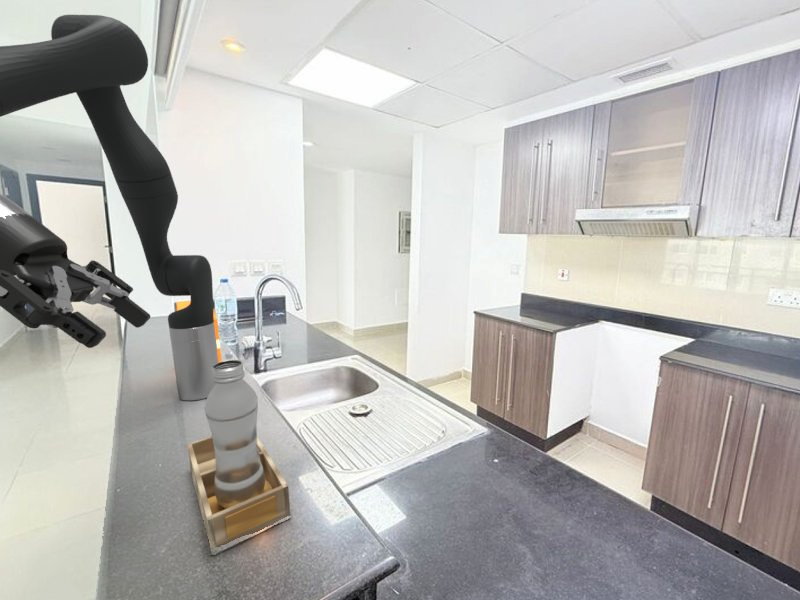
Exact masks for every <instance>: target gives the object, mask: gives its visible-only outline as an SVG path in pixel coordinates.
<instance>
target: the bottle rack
mask: <svg viewBox="0 0 800 600" xmlns="http://www.w3.org/2000/svg"><path fill="white" fill-rule="evenodd" d="M257 445H258V450H259V456H260V461H261V464H262V466H263V469H264V473H265V487H264V491H263V493H262V494H260V495H258V496H256V497H253V498H251V499H249V500H246V501H244V502H242V503H239V504H237V505H235V506H232V507H230V508H227V509H225V508H223V507H222V506H221V505H219V503H218V502H217V499H216V496H215V493H214V481H215V474H216V470H215V450H214V444H213V439H212V435H211V436H208V437H204V438H202V439H198V440H195V441H192V442H189V443H187V445H186V446H187V447H186V448H187V454H188V461H189V467H190V468H189V470H190V474H191V473H192V475H191V478H193V479H192V482H193V481H194V483H193V486H194V485H195V487H194V489H196V490H195V493H196V498H197V497H198V498H197V502H198V501H199V502H198V505H200V506H199V510H200V509H201V510H200V513H202V514H201V517H203V518H202V521H203V520H204V522H203V525H204V524H205V526H204V529H205V528H206V530H205V533H206V532H207V534H206V537H207V536H208V538H207V540H208V539H209V542H208V544H209V543H210V546H209V548H210V547H211V549H213V548H216V547H220V546H221V545H225V544H227V543H229V542H231V541H233V540H235V539H237V538H240V537H242V536H245V535H249V534H253V533H255V532H258V531H260V530H262V529H264V528H265V527H268V526H270V525H273V524H274V523H276V522H278V521H279V520H281V519H283V518H285V517H287V516H291V505H290V494H289V493H290V492H289V485H288V483H287V482H286V480H285V479H284V477H283V475H282V473H281V472H280V470H279V469H278V467H277V465H276V464H275V461H273V459H272V458H271V456H270V454H269V453H268V451H267V450H266V448H265V446H264V444H263V442H261V440H260V439H259V437H258V436H257Z"/></svg>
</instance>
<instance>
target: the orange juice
mask: <svg viewBox="0 0 800 600" xmlns="http://www.w3.org/2000/svg"><path fill="white" fill-rule="evenodd" d="M190 301H191V299H190V300H183V301H176V311H177V310H180V309H183V308H185V307H187V306H188V305H189V304H190ZM216 314H217V313H216V311H215V309H214V314H213V316H214V326H215V334H216V343H217V352H218V361H219V362H221V361H223V360H222V354H221V353H222V352H221V342H220V333H219V323H218V318H217V315H216Z"/></svg>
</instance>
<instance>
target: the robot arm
mask: <svg viewBox="0 0 800 600" xmlns="http://www.w3.org/2000/svg"><path fill="white" fill-rule="evenodd" d="M50 35H51V39H50V40H45V41H39V42H32V43H24V44H12V45H2V46H0V118H1V117H3V116H7V115H9V114H12V113H16V112H18V111H22V110H23V109H26V108H30V107H32V106H35V105H38V104H43V103H44V102H45V103H46V102H48V101H50V100H54V99H58V98H60V97H64V96H68V95H70V94H75V93H76V95H77V97H78V99H79V101H80V103H81V105H82V106H83V109H84V110H85V112H86V115H87V116H88V118H89V120H90V123H91V124H92V127H93V130H94V132H95V134H96V137H97V139H98V141H99V143H100V146H101V148H102V150H103V153H104V155H105V157H106V159H107V162H108V164H109V166H110V169H111V172H112V175H113V177H114V178H113V179H114V181H115V182H116V184H117V185H116V186H117V188H118V190H119V192H120V194H121V197H122V199H123V202H124V203H125V205H126V207H127V210H128V212H129V215H130V217H131V220H132V222H133V224H134V227H135V229H136V231H137V235H138V238H139V239H140V243H141V246H142V249H143V253H144V256H145V260H146V263H147V266H148V270H149V273H150V275H151V276H150V277H151V279H152V281H153V284H154V286H155V287H156V288H155V289H156V290H157V291H158V292H159V293H160V294H162V295H164V296H168V297H183V296H186V297H188V296H190V300H191V301H190V300H189V301H190V304H189V305H188V306H187V307H185V308H183V309H180V310H177V309H176V310H174V311H172V312H171V313H170V314H169V315H168V316H167V323H168V330H169V336H170V337H169V338H170V344H171V351H172V358H173V359H172V361H173V365H174V373H175V381H176V389H177V395H178V399H179V400H183V401H198V400H204V399H207V397H208V395H209V393H210V392H211V390H212V389H213V387H214V386H215V383H214V382H213V380H212V376H213V373H212V366H213V365H214V364H216V363H218V362H219V361H218V352H217V343H216V334H215V326H214V316H213V314H214V310H215V304H214V303H215V302H214V293H213V292H214V291H213V289H214V287H213V273H212V268H211V264H210V262H209V259H208V258H207V257H205V256H203V255H202V254H201V255H199V254H191V255H190V254H184V255H183V254H182V255H179V254H178V255H176V254H175V255H174V254H173V253H172V252H171V250H170V249H171V248H170V246H169V241H168V232H169V228H170V225H171V222H172V220H173V217H174V215H175V212H176V209H177V205H178V203H179V202H178V201H179V194H178V191H177V190H178V189H177V187H176V184H175V181H174V178H173V175H172V172H171V169H170V166H169V164H168V162H167V160H166V159H165V157H164V155H163V154H162V153H161V151H160V149H158V147H157V146H156V145H155V143H153V141H152V140H151V138H149V136H148V135H147V134H146V133H145V131H144V130H143V129H142V128H141V126H140V125H139V124H138V123H137V121H136V120H135V118H134V116H133V115H132V113H131V111H130V109H129V106H128V104H127V101H126V100H125V96H124V94H123V91H122V89H121V86H123V87H124V86H129V85H135V84H137V83H139V82H140V81H141V80H143V79H144V77H145V76H146V74H147V71H148V69H149V68H148V67H149V58H148V53H147V51H146V50H147V49H146V48H145V45H144V44H143V41H142V40H141V38H140V37H139V35H138V34H137V33H136V32H135V31H134V29H132V28H131V27H129V26H128V25H127V24H125V23H124V22H122V20H118V19H116V18H113V17H110V16H105V15H102V14H100V15H99V14H63V15H60V16H58V17H57V18H55V20H54V21H53V23H52V26H51V31H50ZM113 284H114V285H115V286H114V285H113ZM133 291H134V288H133V287H132V286H130V284H129V283H127V282H125V281H124V280H123V279H121V278H120V277H118V276H117V275H116V274H115V273H113V272H112V271H110V270H109V269H107V267H105V266H104V265H102V264H101V263H100V262H99V261H96V260H93V259H91V260H90V261H89V262H88V263H86V265H83V266H82V265H81V264H79V263H76V262H74V261H73V260H71V259H69V257H68V245H67V243H66V241H64V239H62V238H61V237H59V236H58V235H57V234H55V233H54V232H53V231H52V230H51V229H49V228H48V227H46V225H44V224H43V223H42V222H40V221H39V220H38V219H36V218H35V217H33V215H31V214H30V213H29V212H28V211H26V210H25V209H24V208H22V207H21V206H20V205H18V204H17V203H16V202H15V201H13V200H12V199H10V198H8V197H7V196H5V195H3V194H2V193H0V307H1V308H2V309H4V310H5V311H6V312H7V313H8V314H10V315H11V316H13V317H14V318H15V319H16V320H18V321H19V322H20V323H22V324H23V325H25V326H26V327H27V328H30V329H39V328H40V326H47V327H49V328H52V329H59V330H61V331H63V332H64V333H65V334H67V335H68V336H69V337H71V338H72V339H74V340H75V341H77V342H78V343H79V344H82V345H83V346H85V347H86V348H88V349H92V348H94V347H97V346H98V345H100V343H101V342H102V341H103V340H104V339H105V338H106V336H107V333H106V331H105V330H104V329H102V328H101V327H100V326H99V325H97V324H96V323H94V322H93V321H92V320H90V319H89V318H88V317H86V315H84V314H83V313H81V312H80V311H77V310H76V311H74V307H73V304H72V303H80V302H83V303H85V304H88V305H92V306H94V305H97V304H99V305H101V306H104V307H107V308H110V309H113V311H114V312H115V313H116V314H117V315H119V316H120V317H121V318H122V319H124V320H125V321H126V322H128V323H129V324H130V325H132V326H133V327H135V328H141V327H143V326H144V325H145V324H146V323H147V322H148V321H149V320H150V318H151V315H150V313H149V312H148V311H146V310H145V309H144V308H143V307H141V306H139V304H137V303H136V302H135V301H134V300H132V299H130V297H129V296H130V294H131V293H132V292H133ZM104 295H105V296H106V297H105V296H104ZM26 305H29V306H31V308H33V309H34V310H33V311H32V312H31V311H29V310H28V309H27V308H26ZM73 311H74V312H73Z"/></svg>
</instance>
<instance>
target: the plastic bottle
mask: <svg viewBox="0 0 800 600" xmlns="http://www.w3.org/2000/svg"><path fill="white" fill-rule="evenodd" d="M212 373H213V376H212V380H213V382H214V383H215V386H214V387H213V389H212V390H211V392H210V393H209V395H208V397H207V398H205V399H206V401H205V404H204V412H205V416H206V419H207V423H208V426H209V430H210V432H211V436H212V439H213V444H214V450H215V470H216V474H215V481H214V493H215V496H216V499H217V502H218V503H219V505H221V506H222V507H223V508H225V509H227V508H230V507H232V506H235V505H237V504H239V503H242V502H244V501H246V500H249V499H251V498H253V497H256V496H258V495H260V494H262V493H263V491H264V487H265V473H264V469H263V466H262V464H261V461H260V456H259V450H258V445H257V437H258V434H257V432H258V431H257V429H258V427H257V422H258V408H259V407H258V406H259V403H258V402H259V398H258V395H257V392H256V391H255V390H254V388H253V387H252V386H251V385H250V384H249V383H248V382H247V381H246V380H244V378H245V375H246V374H245V371H244V363H243V361H242V360H239V359H227V360H222V361H221V362H218V363H216V364H214V365H213V366H212Z"/></svg>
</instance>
